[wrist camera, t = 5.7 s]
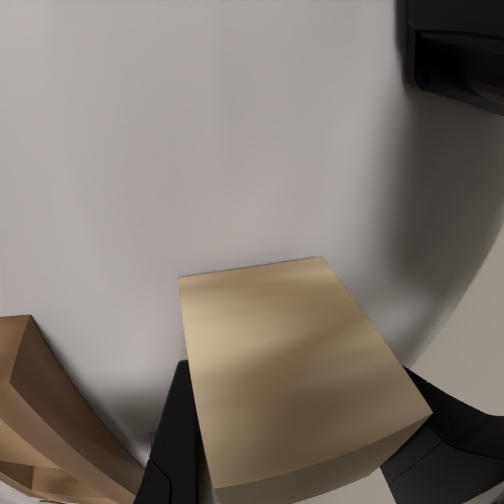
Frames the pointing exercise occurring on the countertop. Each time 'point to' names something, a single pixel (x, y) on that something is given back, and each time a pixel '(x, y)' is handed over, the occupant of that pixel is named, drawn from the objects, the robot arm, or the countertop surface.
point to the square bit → (291, 382)
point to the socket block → (54, 429)
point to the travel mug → (49, 502)
